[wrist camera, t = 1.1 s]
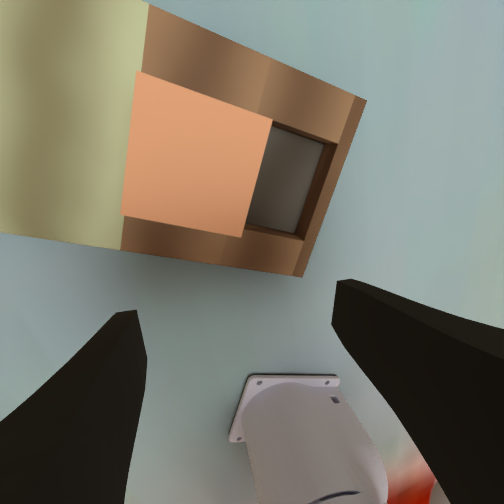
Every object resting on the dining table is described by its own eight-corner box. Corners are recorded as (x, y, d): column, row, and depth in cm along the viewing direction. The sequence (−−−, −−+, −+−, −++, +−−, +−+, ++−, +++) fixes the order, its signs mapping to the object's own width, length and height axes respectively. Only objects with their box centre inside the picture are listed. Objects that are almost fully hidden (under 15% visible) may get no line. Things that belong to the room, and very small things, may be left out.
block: (244, 127, 13) (272, 119, 9) (224, 211, 15) (240, 237, 11) (151, 95, 12) (136, 70, 8) (138, 193, 13) (120, 214, 9)
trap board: (346, 105, 16) (366, 100, 14) (291, 265, 19) (302, 277, 18) (-218, -133, 9) (-323, -206, 7) (-148, 193, 12) (-206, 201, 10)
